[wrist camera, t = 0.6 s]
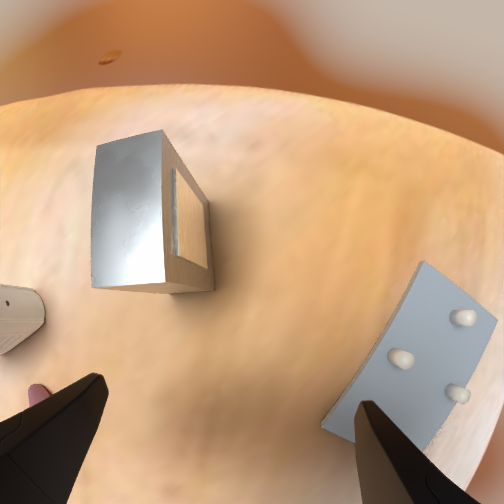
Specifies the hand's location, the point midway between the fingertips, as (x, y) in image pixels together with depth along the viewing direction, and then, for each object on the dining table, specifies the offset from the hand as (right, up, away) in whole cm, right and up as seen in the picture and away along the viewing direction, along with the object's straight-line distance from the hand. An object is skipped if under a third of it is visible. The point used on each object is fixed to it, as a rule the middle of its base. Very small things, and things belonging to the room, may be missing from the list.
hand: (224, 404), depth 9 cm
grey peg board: (+14, -5, +12) cm, 19 cm away
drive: (-4, +5, +14) cm, 16 cm away
